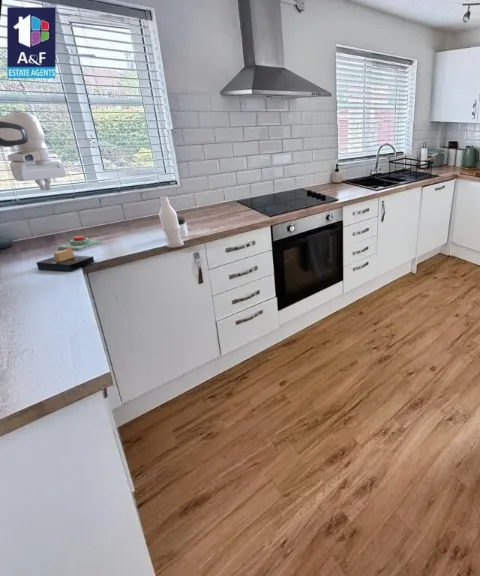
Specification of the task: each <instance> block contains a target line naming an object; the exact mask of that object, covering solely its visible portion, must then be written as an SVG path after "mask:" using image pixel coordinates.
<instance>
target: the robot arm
mask: <svg viewBox="0 0 480 576" xmlns="http://www.w3.org/2000/svg"><path fill="white" fill-rule="evenodd" d="M15 146H17V147H18V150H17V151H16V152H13V153H10V154H8V155H7V159H8V161H10V163H9V166H10V167H9V169H10V171H11V175H12V178H13V179H14V180H16V181H17V182H28V181H29V182H30V181H34V182H35V184H37V185H38V187H39V189H40V191H49V190H51V189H52V188H51V183H52V179H58V178H59V179H60V178H66V176H67V171H66V168H65V165H64V164H63V162H62V161H61V158H60V157H59V156H58V155H57V154H50V153H49V149H48V146H47V144H46V143H45V135H44V131H43V128H42V126H41V124H40V121H39V120H38V118H37V117H36V116H34V115H33V114H30V113H28V112H27V113H26V112H20V111H10V112H9V113H8V114H5V115H4V116H1V117H0V148H11V147H15ZM43 182H44V183H43Z"/></svg>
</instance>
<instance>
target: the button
mask: <svg viewBox="0 0 480 576" xmlns="http://www.w3.org/2000/svg"><path fill="white" fill-rule="evenodd" d="M84 238H85V236H84V235H75V236H72V239H74V241H82V240H85V239H84Z"/></svg>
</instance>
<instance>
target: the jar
mask: <svg viewBox="0 0 480 576" xmlns="http://www.w3.org/2000/svg"><path fill="white" fill-rule="evenodd" d="M177 218H178V223H179V226H180V231H179V233H180V238H181V239H182V238H187V237H188V236H189V230H188V225H187V222H186V220H185V217H184V216H177Z"/></svg>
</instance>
